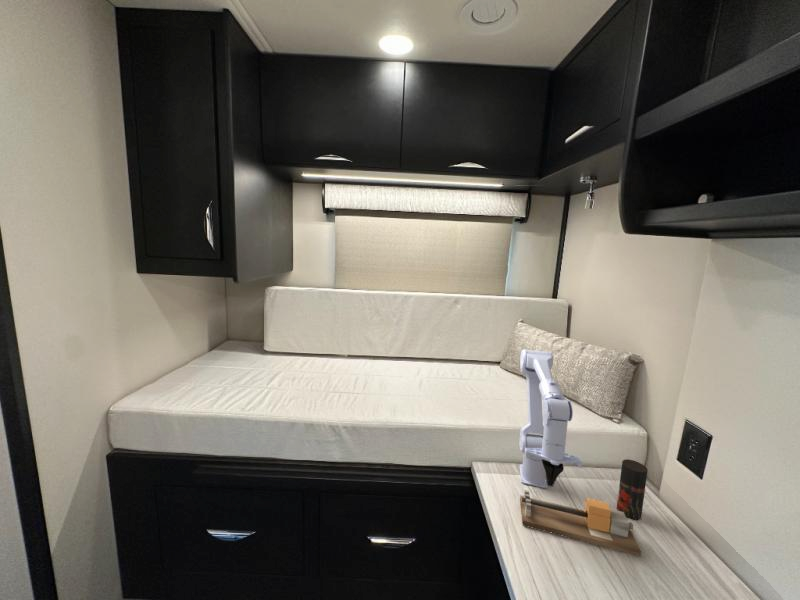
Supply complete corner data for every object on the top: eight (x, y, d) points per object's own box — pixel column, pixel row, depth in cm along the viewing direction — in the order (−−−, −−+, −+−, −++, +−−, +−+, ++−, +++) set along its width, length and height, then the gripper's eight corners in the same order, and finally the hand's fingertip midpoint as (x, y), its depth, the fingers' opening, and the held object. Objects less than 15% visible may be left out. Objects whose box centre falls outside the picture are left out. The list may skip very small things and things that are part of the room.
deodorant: (645, 522, 88) (652, 474, 87) (622, 518, 90) (628, 470, 88) (634, 506, 94) (640, 461, 92) (612, 503, 95) (618, 458, 94)
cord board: (519, 499, 95) (521, 481, 95) (624, 525, 87) (627, 505, 86) (522, 525, 86) (524, 505, 85) (640, 556, 78) (643, 535, 77)
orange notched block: (583, 516, 87) (586, 496, 87) (604, 520, 86) (606, 501, 85) (587, 527, 83) (590, 507, 83) (609, 532, 82) (611, 512, 81)
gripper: (528, 442, 85) (524, 487, 87) (587, 453, 81) (581, 500, 83) (525, 429, 92) (521, 471, 93) (579, 438, 88) (574, 482, 90)
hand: (549, 483), depth 89 cm, fingers closed
